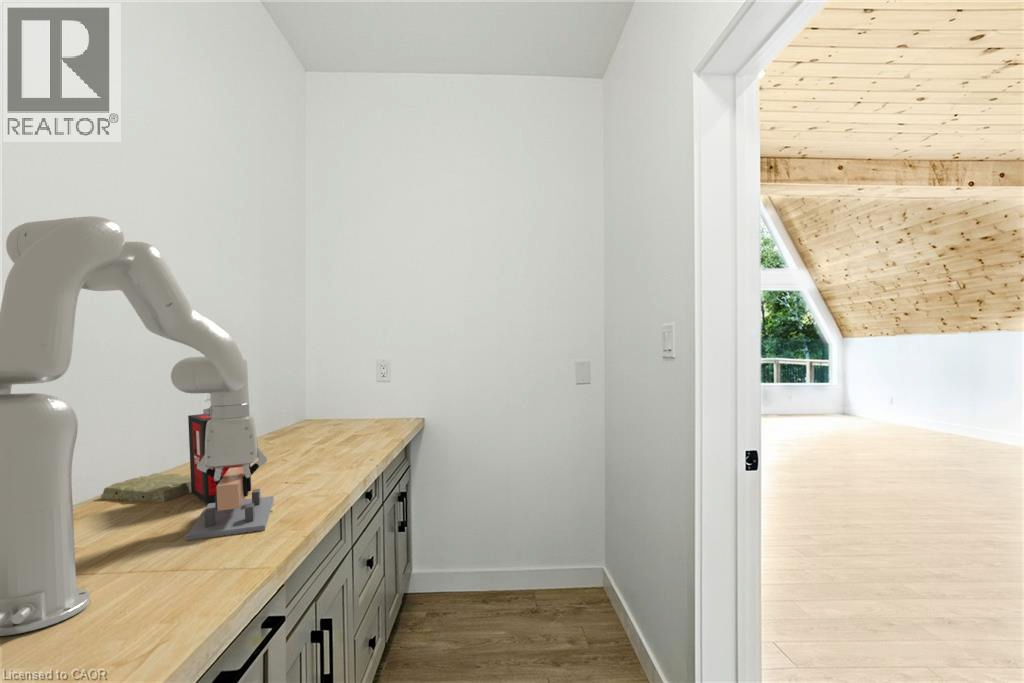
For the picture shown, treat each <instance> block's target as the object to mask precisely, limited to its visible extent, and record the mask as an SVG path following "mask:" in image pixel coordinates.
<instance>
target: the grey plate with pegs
mask: <svg viewBox="0 0 1024 683" xmlns="http://www.w3.org/2000/svg"><path fill="white" fill-rule="evenodd" d="M273 504H274V496H273V495H272V496H271V495H270V496H261V489H260V488H254V489H252V490H251V498H244V499H243V501H242V504H241V506H240V508H237V509H229V510H221V511H218V509H217V495H216V496H215V503H209V504H206V505H207V506H206V507H205V508H204V510H203V511H202V513H201V514H200V515H199V517H198V519H197V520H196V521H195V522H194V524H193V525H192V527H191V529H190V530H189V531H188V532H187V534H186V541H193V540H201V539H208V538H209V539H210V538H216V537H224V535H225V536H231V534H233V535H237V534H238V535H239V533H240V534H246V533H245V532H248V533H254V531H256V532H263V531H266V528H267V524H268V522H269V518H270V515H271V510H272V507H273Z"/></svg>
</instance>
